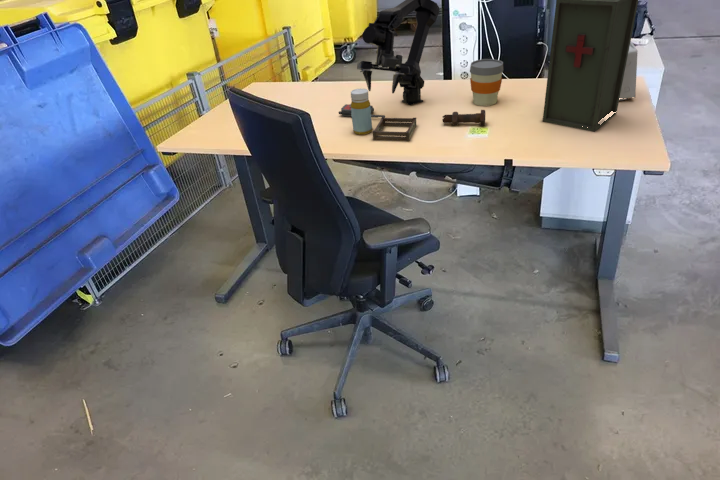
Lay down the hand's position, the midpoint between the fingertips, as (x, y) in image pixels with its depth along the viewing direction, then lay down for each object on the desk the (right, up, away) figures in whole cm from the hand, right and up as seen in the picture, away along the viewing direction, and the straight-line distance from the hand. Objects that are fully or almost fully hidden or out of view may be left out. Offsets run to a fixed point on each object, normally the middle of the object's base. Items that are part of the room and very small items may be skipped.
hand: (381, 92), depth 192 cm
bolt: (+30, -13, -4) cm, 33 cm away
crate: (+5, -16, -5) cm, 18 cm away
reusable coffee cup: (+42, 0, +13) cm, 44 cm away
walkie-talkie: (-6, -6, +12) cm, 15 cm away
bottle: (-7, -15, -1) cm, 17 cm away
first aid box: (+70, -12, -8) cm, 71 cm away
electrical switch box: (+87, 0, +7) cm, 87 cm away
